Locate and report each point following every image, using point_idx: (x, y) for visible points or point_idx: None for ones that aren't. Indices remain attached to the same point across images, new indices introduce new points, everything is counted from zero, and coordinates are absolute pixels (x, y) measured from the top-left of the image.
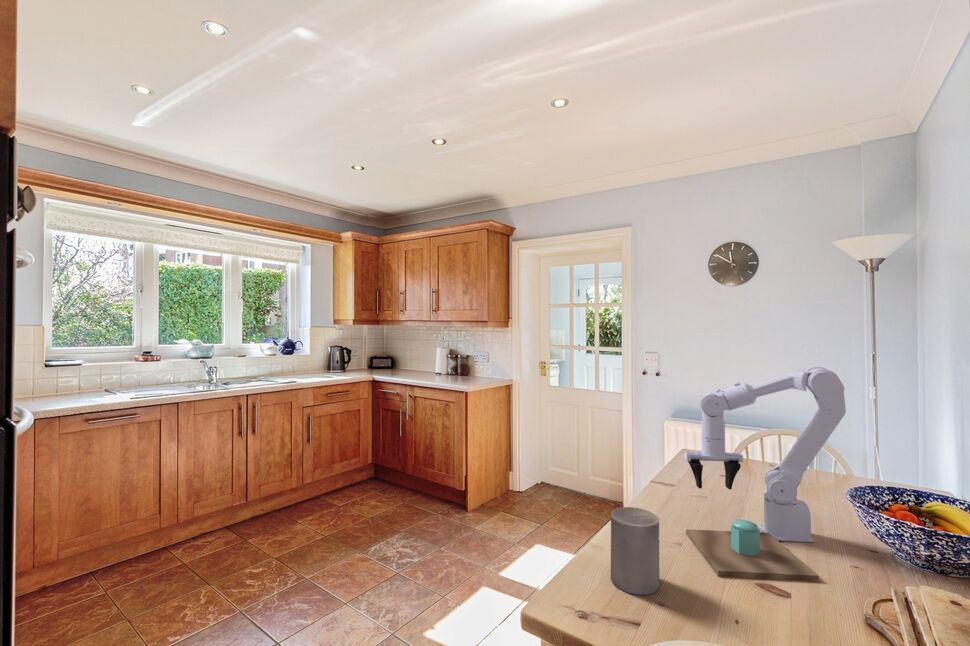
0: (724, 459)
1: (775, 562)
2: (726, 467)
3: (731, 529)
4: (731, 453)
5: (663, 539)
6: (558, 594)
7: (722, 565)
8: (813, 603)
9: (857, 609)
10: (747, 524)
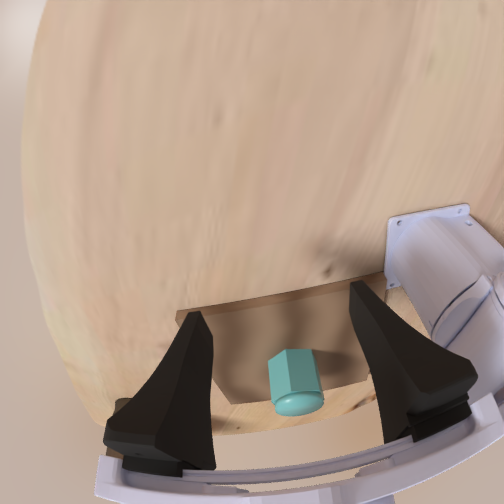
0: (378, 460)
1: (326, 375)
2: (394, 383)
3: (271, 395)
4: (464, 457)
5: (137, 338)
6: (96, 415)
7: (239, 397)
8: (326, 402)
9: (364, 395)
10: (303, 407)
